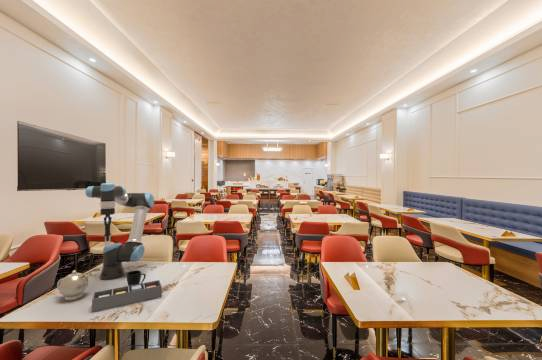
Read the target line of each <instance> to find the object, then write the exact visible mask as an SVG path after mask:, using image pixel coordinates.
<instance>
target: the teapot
mask: <svg viewBox="0 0 542 360" xmlns="http://www.w3.org/2000/svg"><path fill="white" fill-rule="evenodd" d="M88 285H89V279H88V276H86V275H85V274H84V273H81V272H77V270H76V269H74V270H72V271H71V273H70V274H68V275H66V276H65V277H63V278H62V277H61V278H60V279H59V280H58V281H57V284H56V287H57V289H58V291H59V292H60V294H61V295H62V296H63V297H64V300H65V301H66V302H71V301H75V300H79V299H81V298H83V296H84V292H85V291H86V290H87V288H88Z"/></svg>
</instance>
